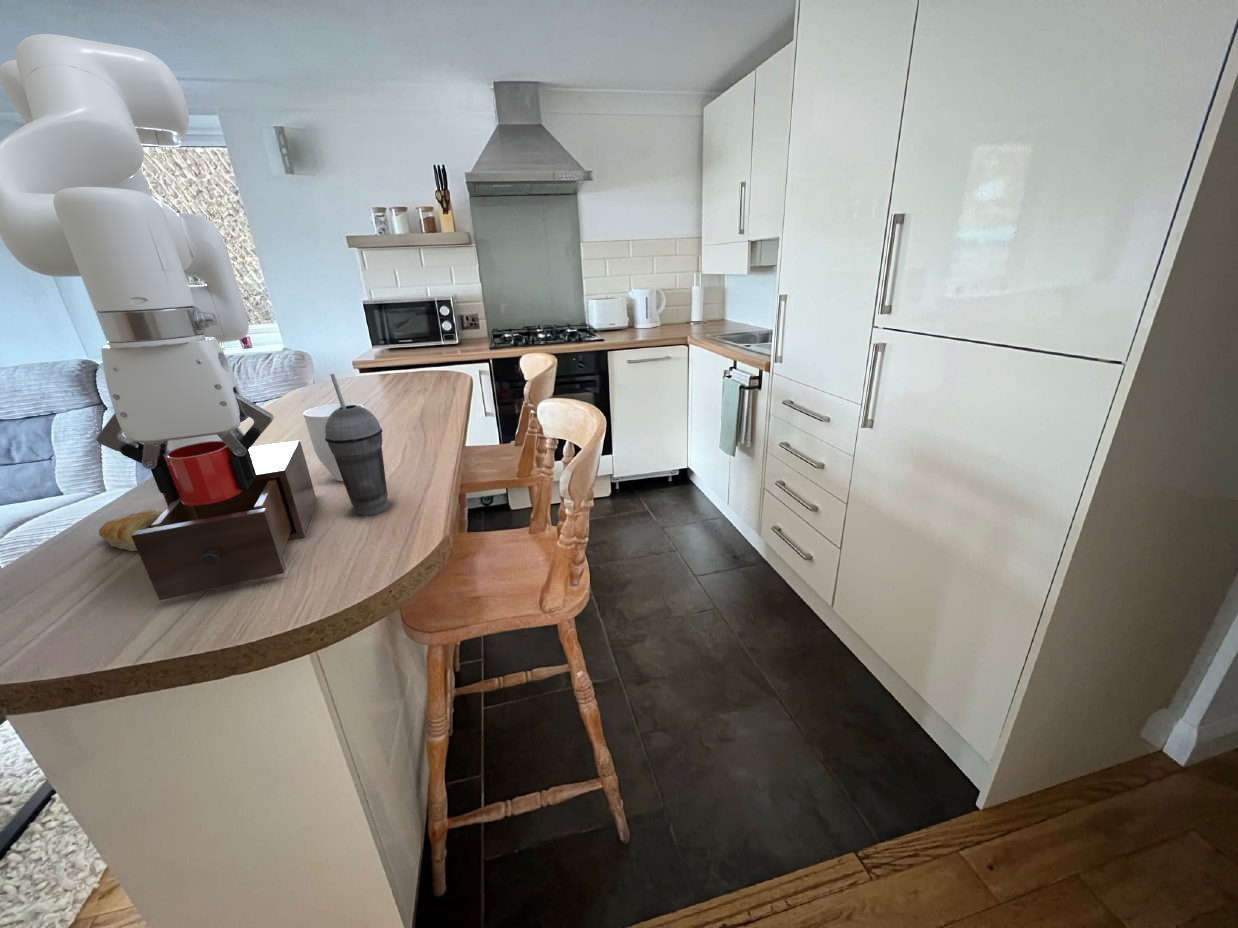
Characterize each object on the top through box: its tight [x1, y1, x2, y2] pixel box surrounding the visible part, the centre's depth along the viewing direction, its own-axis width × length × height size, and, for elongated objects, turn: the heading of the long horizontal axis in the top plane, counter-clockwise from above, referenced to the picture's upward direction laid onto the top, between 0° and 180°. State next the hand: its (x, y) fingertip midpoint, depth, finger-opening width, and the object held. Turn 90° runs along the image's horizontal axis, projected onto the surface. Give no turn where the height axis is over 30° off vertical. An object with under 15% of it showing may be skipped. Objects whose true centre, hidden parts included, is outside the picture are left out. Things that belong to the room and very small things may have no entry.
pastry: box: [98, 509, 164, 552], centre depth 68 cm, size 9×7×4 cm
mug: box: [302, 402, 365, 482], centre depth 86 cm, size 12×9×12 cm
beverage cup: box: [325, 373, 389, 517], centre depth 71 cm, size 7×7×20 cm
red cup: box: [163, 441, 243, 506], centre depth 56 cm, size 6×6×6 cm
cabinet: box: [162, 440, 317, 541], centre depth 69 cm, size 14×13×10 cm
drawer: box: [131, 477, 293, 601], centre depth 59 cm, size 14×11×8 cm
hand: (212, 489), depth 57 cm, fingers closed on red cup, 5 cm apart
